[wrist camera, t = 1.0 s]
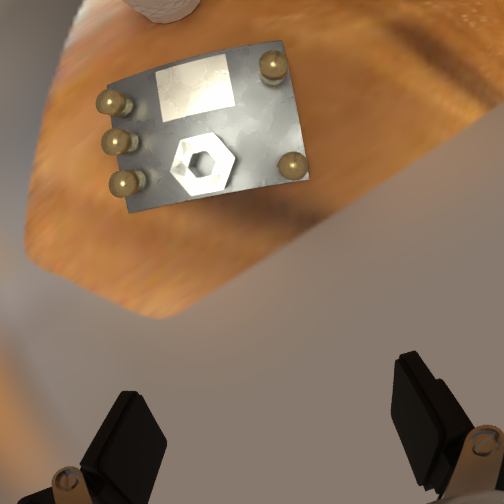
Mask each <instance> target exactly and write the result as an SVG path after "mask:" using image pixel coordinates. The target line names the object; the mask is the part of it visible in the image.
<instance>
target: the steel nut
mask: <svg viewBox="0 0 504 504" xmlns="http://www.w3.org/2000/svg"><path fill="white" fill-rule="evenodd" d="M207 152H208V153H209V154H210V155H211V156H212V157H213V158H214V160H215V161H216V163H215V166H214V169H213V172H212V175H210V176H205V177H203V176H202V175H201V174H200V173H199V172H198V171H197V170H196V168H195V167H194V166H195V163H196V160H197V157H198V155H199V154H202V153H207ZM237 159H238V158H237V157H236V155H235V154H234V153H233V152H232V151H231V150H230V149H229V147H228V146H227V145H226V144H225V143H224V142H223V141H222V139H221V138H220V137H219V136H218V135H217V134H215V133H209V134H204V135H200V136H195V137H191V138H187V139H183V140H180V143H179V146H178V148H177V151H176V154H175V158H174V161H173V164H172V167H171V170H170V172H171V173H172V175H173V176H174V177H175V178H176V179H177V180H178V182H179V183H180V184H181V185H182V186H183V187H184V188H185V190H186V191H187V192H188V193H189V194H190V195H191V196H194V195H199V194H204V193H209V192H214V191H219V190H224V189H226V188H227V187H228V184H229V182H230V179H231V176H232V173H233V170H234V168H235V165H236V162H237Z"/></svg>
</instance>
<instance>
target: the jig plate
mask: <svg viewBox="0 0 504 504" xmlns="http://www.w3.org/2000/svg"><path fill="white" fill-rule="evenodd" d="M96 108H97V110H98V111H99V112H100V113H102V114H107V115H111V121H112V128H113V129H110V130H108V131H106V132H105V134H104V135H103V137H102V140H101V146H102V149H103V151H104V152H105V153H106V154H109V155H117V159H118V164H119V170H120V171H117V172H115V173H114V174H113V175H112V176H111V177H110V180H109V189H110V191H111V193H112V194H113V195H114V196H115V197H118V198H122V197H125V199H126V204H127V208H128V212H129V213H133V212H138V211H142V210H146V209H151V208H155V207H160V206H164V205H169V204H174V203H178V202H183V201H188V200H193V199H198V198H203V197H208V196H213V195H218V194H224V193H229V192H235V191H240V190H246V189H252V188H257V187H263V186H269V185H276V184H282V183H288V182H295V181H302V180H309V174H308V167H309V166H308V161H307V159H306V156H305V150H304V144H303V139H302V133H301V128H300V122H299V117H298V112H297V107H296V102H295V97H294V92H293V87H292V83H291V78H290V73H289V69H288V59H287V57H286V56H285V52H284V47H283V43H282V40H280V41H272V42H265V43H258V44H252V45H246V46H240V47H235V48H230V49H225V50H220V51H215V52H211V53H207V54H202V55H198V56H194V57H191V58H187V59H183V60H179V61H176V62H172V63H169V64H166V65H163V66H159V67H156V68H153V69H150V70H147V71H144V72H141V73H138V74H135V75H133V76H130V77H127V78H125V79H122V80H119V81H117V82H114V83H112V84H109V85H107V89H106V90H104V91H102V92H101V93H100V94H99V95H98V97H97V100H96ZM209 133H215V134H217V135H218V136H219V137H220V138H221V139H222V141H223V142H224V143H225V144H226V145H227V146H228V147H229V149H230V150H231V151H232V152H233V153H234V154H235V155H236V157H237V158H238V159H237V162H236V165H235V168H234V170H233V173H232V176H231V179H230V182H229V184H228V187H227V188H226V189H224V190H219V191H214V192H209V193H204V194H199V195H194V196H191V195H190V194H189V193H188V192H187V191H186V190H185V188H184V187H183V186H182V185H181V184H180V183H179V182H178V180H177V179H176V178H175V177H174V176H173V175H172V173H171V172H170V170H171V167H172V164H173V161H174V158H175V154H176V151H177V148H178V146H179V143H180V140H183V139H187V138H191V137H195V136H200V135H204V134H209ZM215 163H216V161H215V160H214V158H213V157H212V156H211V155H210V154H209V153H208V152H207V153H202V154H199V155H198V157H197V160H196V163H195V166H194V167H195V168H196V170H197V171H198V172H199V173H200V174H201V175H202V176H203V177H205V176H210V175H212V172H213V169H214V166H215Z"/></svg>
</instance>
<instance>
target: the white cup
mask: <svg viewBox="0 0 504 504" xmlns="http://www.w3.org/2000/svg"><path fill="white" fill-rule="evenodd" d="M123 1H124V2H125V3H127V4H128V5H129V6H130V7H132V8H133V9H134V10H136V11H137V12H140V13H141V14H142V15H143V16H144V17H146V18H147V19H149V20H150V21H151V22H153V23H163V24H167V23H170V22H174V21H178V20H181V19H182V18H184V17H185V16H187V15H189V14H190V13H192V12H193V10H194V9H195V8H196V7H197V6H198V4H199V3H200V0H123Z"/></svg>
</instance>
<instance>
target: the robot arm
mask: <svg viewBox="0 0 504 504" xmlns="http://www.w3.org/2000/svg"><path fill="white" fill-rule="evenodd" d="M391 417H392V420H393V423H394V425H395V427H396V430H397V432H398V435H399V437H400V440H401V442H402V445H403V447H404V450H405V452H406V455H407V457H408V460H409V463H410V465H411V468H412V470H413V473H414V476H415V478H416V481H417V484H418V485H419V486H422V485H423V486H424V489H425V491H428V490H431V489H433V488H434V489H435V492H436V494H439V495H438V497H437V499H436V501H433V502H431V503H427V504H504V433H503V432H502V430H501V429H499V428H498V427H496V426H493V425H482V426H478V427H476V428H475V427H474V426H473V424H472V423H471V421H470V419H469V418H468V416H467V415H466V413H465V412H464V410H463V409H462V407H461V406H460V404H459V403H458V401H457V400H456V398H455V397H454V395H453V394H452V392H451V391H450V389H449V388H448V386H447V385H446V384H445V382H444V381H443V380H442V379H435V378H434V376H433V375H432V373H431V372H430V370H429V369H428V367H427V366H426V364H425V363H424V362H423V360H422V359H421V357H420V356H419V354H418V353H417V352H416V351H411V352H407V353H404V354H401V355H400V356H399V359H397V360H396V361H395V368H394V382H393V394H392V403H391ZM166 447H167V440H166V438H165V436H164V434H163V433H162V431H161V429H160V427H159V426H158V424H157V422H156V420H155V419H154V417H153V415H152V413H151V411H150V409H149V408H148V406H147V404H146V402H145V400H144V398H143V397H142V395H139V394H138V392H136V391H122V392H121V393H120V395H119V396H118V398H117V400H116V401H115V403H114V405H113V406H112V408H111V410H110V411H109V413H108V415H107V417H106V419H105V420H104V422H103V424H102V425H101V427H100V429H99V430H98V432H97V434H96V436H95V437H94V439H93V441H92V443H91V444H90V446H89V448H88V450H87V451H86V453H85V455H84V457H83V459H82V461H81V462H80V465H81V468H80V470H79V469H78V468H76V467H73V466H68V467H64V468H62V469H60V470H58V471H57V472H56V473H55V475H54V476H53V479H52V487H49V488H47V489H44V490H42V491H39V492H36V493H34V494H31V495H28V496H26V497H24V498H22V499H20V501H18V503H17V504H148V501H149V498H150V495H151V492H152V489H153V486H154V483H155V480H156V477H157V474H158V471H159V468H160V465H161V462H162V459H163V456H164V453H165V450H166Z"/></svg>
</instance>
